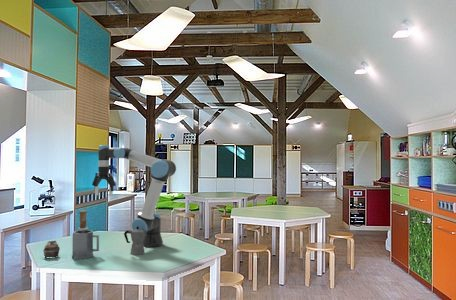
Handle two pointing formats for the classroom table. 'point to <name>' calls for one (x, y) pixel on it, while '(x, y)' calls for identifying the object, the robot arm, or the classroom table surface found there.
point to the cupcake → (51, 249)
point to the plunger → (83, 220)
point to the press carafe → (83, 244)
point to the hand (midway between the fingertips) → (103, 195)
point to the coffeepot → (136, 241)
